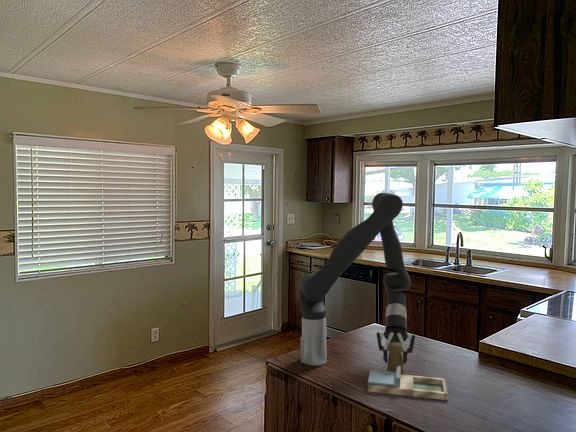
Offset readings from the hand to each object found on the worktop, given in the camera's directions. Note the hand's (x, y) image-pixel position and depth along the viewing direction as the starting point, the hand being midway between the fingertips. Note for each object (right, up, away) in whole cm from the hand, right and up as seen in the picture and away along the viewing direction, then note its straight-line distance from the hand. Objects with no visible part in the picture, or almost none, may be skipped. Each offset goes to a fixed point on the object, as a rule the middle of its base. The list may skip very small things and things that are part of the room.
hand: (395, 362), depth 146 cm
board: (+1, -5, -9) cm, 11 cm away
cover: (-5, -3, -7) cm, 10 cm away
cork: (+1, -5, +2) cm, 5 cm away
